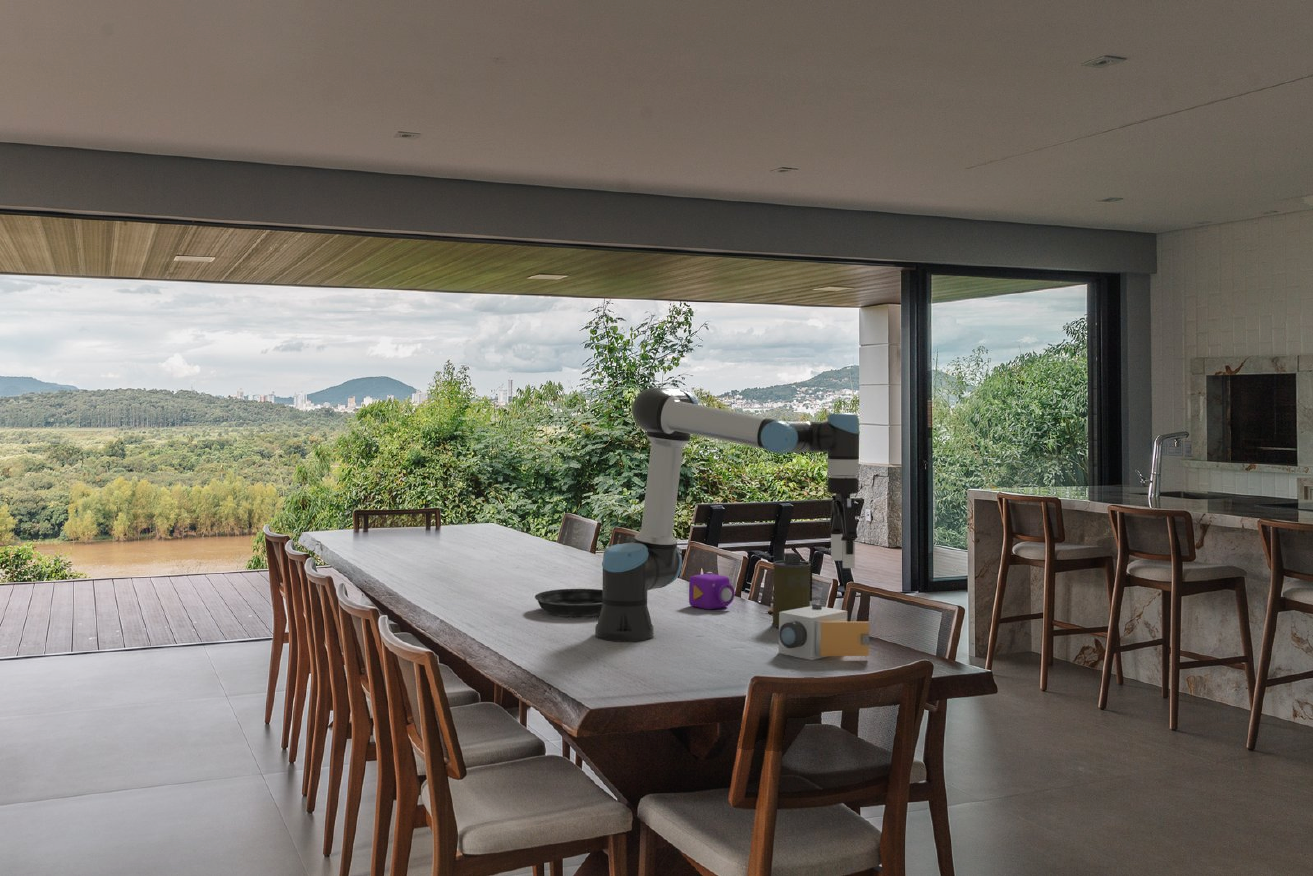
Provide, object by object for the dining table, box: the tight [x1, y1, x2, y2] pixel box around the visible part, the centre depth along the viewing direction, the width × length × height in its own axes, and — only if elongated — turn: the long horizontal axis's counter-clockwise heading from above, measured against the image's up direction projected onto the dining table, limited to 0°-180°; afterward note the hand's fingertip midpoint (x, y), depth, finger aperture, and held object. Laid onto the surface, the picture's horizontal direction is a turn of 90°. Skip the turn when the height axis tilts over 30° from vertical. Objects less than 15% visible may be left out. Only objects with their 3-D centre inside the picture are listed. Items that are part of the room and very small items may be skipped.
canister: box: [771, 552, 813, 629], centre depth 293 cm, size 11×10×20 cm
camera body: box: [778, 603, 848, 661], centre depth 259 cm, size 17×10×11 cm, turn 134°
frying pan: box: [534, 588, 603, 619], centre depth 316 cm, size 44×25×7 cm, turn 137°
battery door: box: [816, 621, 870, 657], centre depth 252 cm, size 13×2×8 cm, turn 94°
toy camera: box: [688, 571, 735, 610], centre depth 319 cm, size 11×14×10 cm
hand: (842, 564), depth 260 cm, fingers open, 13 cm apart
